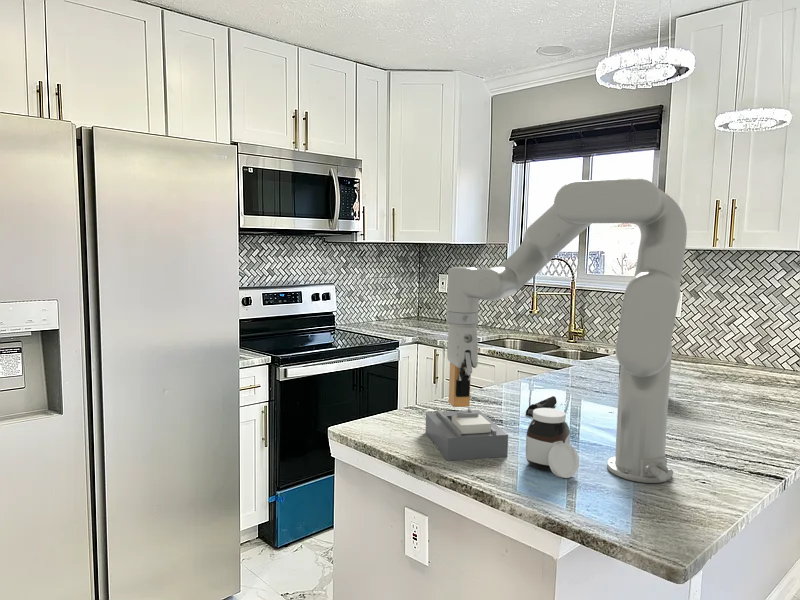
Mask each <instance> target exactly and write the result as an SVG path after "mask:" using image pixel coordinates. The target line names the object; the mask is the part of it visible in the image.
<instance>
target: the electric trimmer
mask: <svg viewBox="0 0 800 600" xmlns="http://www.w3.org/2000/svg"><path fill="white" fill-rule="evenodd" d="M557 402H558V401H557V398H556V396H553V395H552V396H549V397H548V398H546V399H543V400H541V401H539V402H537V403H533V404H530V405H529V406H528V408H527V409H526V411H525V415H526V416H527V415H530V416H529V417H532V416H533V410H534V409H538V408H553V407H554V406H556V404H557Z"/></svg>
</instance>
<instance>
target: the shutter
mask: <svg viewBox="0 0 800 600" xmlns="http://www.w3.org/2000/svg"><path fill="white" fill-rule="evenodd" d="M452 424H453V425H454V426H455V427H456V428H457V429H458V430H459V431H460V432H461V434H472V433H489V432H491V423H490V422H488V421H487V420H486V419H485V418H484V417H483V416H481V415H478V412H473V413H457V416H452Z"/></svg>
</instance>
